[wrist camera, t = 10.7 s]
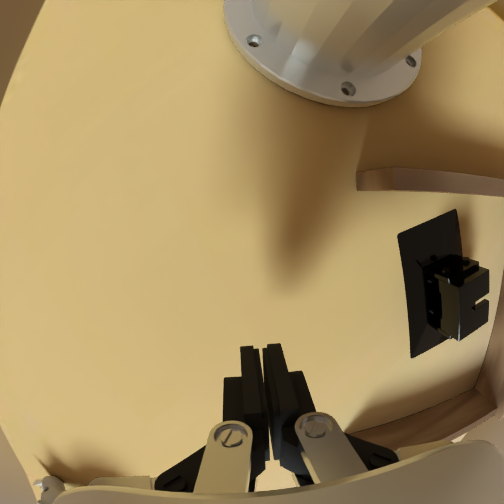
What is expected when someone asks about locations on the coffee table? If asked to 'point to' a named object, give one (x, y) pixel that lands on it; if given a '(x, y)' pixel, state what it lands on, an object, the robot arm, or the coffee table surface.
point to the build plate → (441, 284)
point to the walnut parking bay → (500, 346)
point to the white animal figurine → (49, 489)
